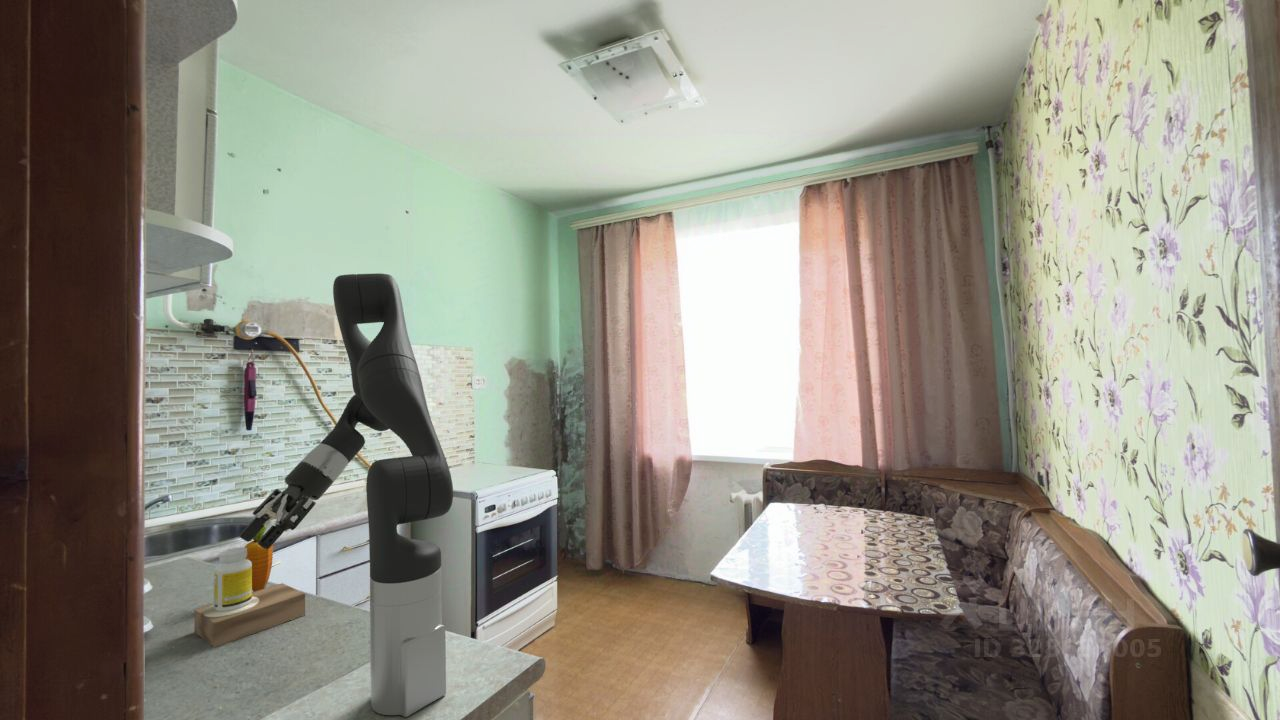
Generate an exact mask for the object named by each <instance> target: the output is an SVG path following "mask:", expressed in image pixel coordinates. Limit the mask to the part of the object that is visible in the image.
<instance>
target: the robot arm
mask: <svg viewBox="0 0 1280 720" xmlns="http://www.w3.org/2000/svg"><path fill="white" fill-rule="evenodd" d="M332 285H333V286H332V295H333V304H334V308H335V309H334V310H335V314H336V319H337V322H338V327H339V330H340V333H341V337H342V341H343V344H344V348H345V352H346V354H347V358H348V362H349V367H350V374H351V383H352V389H353V393H354V395H353V396H352V397H351V398H350V399H349V400H348V402H347V404H346V405H345V408H344V410H343V412H342V414H341V416H340V418H339V419H338V420H337V422H336V424H335V426H334V427H333V428H332V429H331V431H330V432H329V433H328V434H327V435H326V436H325V437H324V438H323V439H322V441H321V442H320V443H319V444H318V445H316V446H315V447H314V448H313V449H312V450H310V451H309V452H308V453H307V454H306V456H305V457H303V458H302V460H301V461H300V462H299V463H298V464H297V465H296V466H295V467H294V468H293V469H292V470H291V471H290V472H289V474H287V476H286V477H285V478H284V482H285V484H286V485H287V488H285V489H283V491H282V490H280V489H278V488H276V489H274V490H273V491H272V492H271V493H270V494H269V495H268V496H267V497H266V498H265V499H264V501H262V502H261V503H260V504H259V505H258V506H257V507H256V509H255V510H254V511H253V512H252V515H253V519H252V520H251V521H250V522H249V523H248V524H247V525H246V526H245V528H243V530H242V531H241V532H240V533H239V535H238V536H239V538H240V539H241V540H244V541H245V542H248V543H250V542H252V541H253V538H254V537H255V536H256V534H257V533H258V532H259V531H260V530H261V529H262V528H263V527H264V526H266V525H267V524H268V523H270V522H272V520H275V521H274V525H273V524H272V525H271V526H270V527H269V529H267V530H266V531H265V532H264V534H263V536H262V537H261V538H260V540H259V541H258V545H260V546H261V547H263V548H265V549H269V548H270V547H271V546H272V545H273V546H274V543H275V542H276V541H277V540H278V539H279V538H280V537H281V536H282V535H283V533H284V532H285V533H286V532H288V531H289V530H291V531H294V530H295V529H296V528H297V527H298V525H300V523H301V522H302V521H303V520H304V519H305V518H306V516H307V515H308V514H309V513H310V512H311V510H312V509H313V508H314V507H315V506H316V504H317V502H316V501H318V500H320V498H322V497H323V495H324V494H326V491H327V490H329V488H330V487H331V486H332V485H333V484H334V483H335V481H336V480H338V478H339V477H340V475H342V473H344V470H345V469H346V468H347V466H348V465H349V463H350V462H351V461H352V460H353V459H354V458H355V456H357V455H358V453H359V452H360V451H361V450H362V449H363V447H364V446H365V444H366V440H365V437H364V435H362V434H361V433H360V432H359V431H358V430H357V429H356V426H357V424H358V423H360V424H361V425H364V426H366V427H368V428H370V429H372V430H374V431H377V432H386V431H388V430H390V431H391V432H393V433H394V435H396V436H397V437H399V439H400V440H402V442H403V443H404V444H405V446H406V447H407V449H408V450H409V452H410V454H411V456H410V455H409V456H401V457H391V458H389V457H388V458H383V459H379V460H376V461H374V462H373V463H371V465H370V467H369V468H368V471H367V476H366V483H365V484H366V487H365V488H366V489H365V490H366V491H365V492H366V507H367V518H368V519H367V520H368V521H367V522H368V542H369V543H368V544H369V546H368V549H369V631H370V632H369V635H370V636H369V637H370V638H369V642H370V643H369V645H370V647H369V649H370V657H369V658H370V668H369V669H370V706H371V710H373V712H375V713H377V714H379V715H383V716H385V715H386V716H402V717H404V718H407V717H409V716H411V715H412V714H414V713H416V712H418V711H420V710H421V709H422V708H425V707H426V706H428V705H430V704H431V703H433V702H435V701H436V700H438V699H440V698H442V697H444V696H445V695H446V694H447V661H446V660H447V652H446V651H447V648H446V647H447V645H446V626H445V625H444V624H443V610H442V609H443V608H442V606H443V604H442V601H443V600H442V598H443V597H442V595H443V594H442V590H443V589H442V586H443V585H442V583H443V582H442V550H441V548H440V546H439V545H437V544H436V543H435V542H434V543H433V542H432V541H426V540H421V539H415V538H409V537H405V536H403V535H401V534H399V533H398V525H403V524H409V523H413V522H420V521H426V520H429V519H434V518H435V519H436V518H438V517H442V516H444V515H445V514H447V513H448V512H450V509H451V507H452V505H453V500H454V487H453V480H452V474H451V471H450V468H449V464H448V462H447V459H446V456H445V452H444V451H443V448H442V445H441V443H440V440H439V438H438V435H437V432H436V430H435V426H434V424H433V421H432V419H431V415H430V411H429V407H428V404H427V399H426V394H425V391H424V386H423V382H422V378H421V374H420V371H419V367H418V364H417V360H416V357H415V354H414V351H413V348H412V344H411V341H410V338H409V334H408V330H407V329H408V328H407V325H406V319H405V315H404V307H403V306H404V305H403V301H402V297H401V292H400V288H399V285H398V283H397V281H396V278H394V277H393V276H392V275H390V274H387V273H382V272H381V273H380V272H379V273H357V274H356V273H350V274H341V275H338V276H336V277H335V279H334V281H333V284H332ZM375 323H376V324H377V323H383V324H382V326H381V328H380V330H379V332H378V333H377V335H376V336H375V337H374V338H373V339H372V341H370V340H369V339H368V338H367V337H366V336H365V335H364V333H362V331H361V330H360V328H359V326H358V325H361V324H362V325H363V324H375Z"/></svg>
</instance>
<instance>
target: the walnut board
mask: <svg viewBox="0 0 1280 720" xmlns="http://www.w3.org/2000/svg"><path fill="white" fill-rule="evenodd" d="M303 615H304V616H305V615H306V593H305V592H302V591H300V590H298V589H296V588H294V587H292V586H289V585H288V584H286V583H279V584H276V585H271V586H269V587H265V588H264V589H261V590H258V591H255V592H253V591H252V600H251V602H250V603H248V604H247V605H245V606H243V607H240V608H237V609H233V610H227V611H217V610H215V608H214V603H212V604H209V605H206V606H202V607H198V608H195V609H194V620H193V621H194V626H193V627H194V633H195V634H196V635H197V636H199V637H200V638H202V639H203V640H204V641H206V642H207V643H208V644H209V645H211V646H212V647H213V648H217V647H219V646H222V645H225V644H228V643H230V642H233V641H235V640H239V639H242V638H245V637H247V636H251V635H252V634H255V633H258V632H261V631H265V630H267V629H270V628H272V627H276V626H278V625H281V624H284V623H286V621H287V622H290V621H292V620H291V619H293V620H294V618H295V619H297V617H298V618H300V616H301V617H304V616H303ZM289 620H290V621H289Z"/></svg>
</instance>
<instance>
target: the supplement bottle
mask: <svg viewBox="0 0 1280 720" xmlns="http://www.w3.org/2000/svg"><path fill="white" fill-rule="evenodd" d="M244 547H245V546H244ZM244 547H234V548H228V549H225V550H223V551H221V552H220V553H219V557H218V558H219V562H220V563H219V564H218V565H217V566H216V567H215V568H214V573H213V574H214V580H213V581H214V582H213V583H214V584H213V585H214V586H213V587H214V590H213V591H214V592H213V594H214V595H213V598H214V599H213V604H214V608H215V610H217V611H227V610H233V609H237V608H240V607H243V606H245V605H247V604H248V603H250V602H251V600H252V592H253V590H252V563H251V561H250V560H248V559H246V557H247V548H244Z"/></svg>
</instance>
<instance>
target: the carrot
mask: <svg viewBox="0 0 1280 720" xmlns="http://www.w3.org/2000/svg"><path fill="white" fill-rule="evenodd" d="M267 528H268V527H267V526H266V525H265V526H264V527H263V528H262V529H261V530H260V531H259V532H258V533H257V534H256V536H255V537H254V538H253V539H252V540H251V541H249V542H248V543H247V544H245V545H244V548H247V557H246V559H248V560H250V561H251V563H252V592H255V591H258V590H261V589H265V588H266V586H267V584H268V581H269V579H270V575H271V571H272V566H273V559H274V558H273V554H274V544H273V545H272V546H271V547H270V548H269V549H265V548H263V547H261V546H260V545H258V541H259V540H260V538H261V537H262V536H263V535H264V534H265V533H266V531H267Z"/></svg>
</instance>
